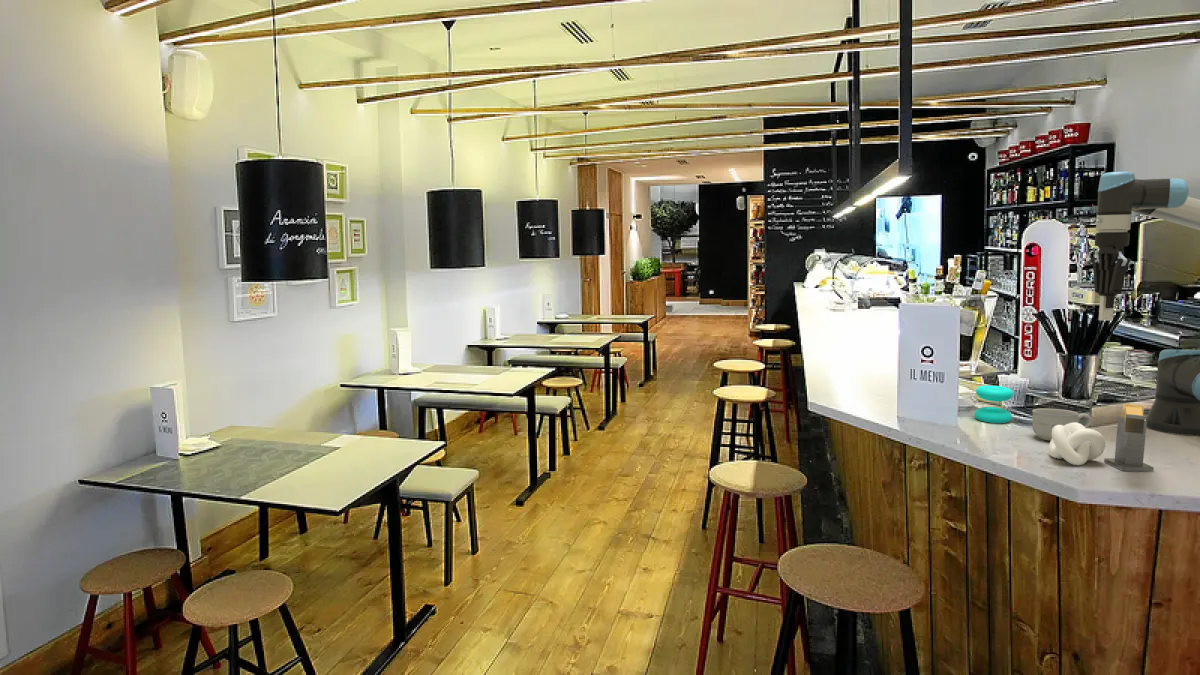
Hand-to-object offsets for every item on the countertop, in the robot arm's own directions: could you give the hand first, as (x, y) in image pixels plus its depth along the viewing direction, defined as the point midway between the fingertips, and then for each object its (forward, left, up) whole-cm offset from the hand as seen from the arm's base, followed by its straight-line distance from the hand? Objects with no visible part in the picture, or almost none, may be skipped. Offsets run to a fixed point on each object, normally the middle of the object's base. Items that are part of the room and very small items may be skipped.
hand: (1105, 320), depth 197 cm
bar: (+12, +33, -21) cm, 41 cm away
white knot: (+19, +23, -33) cm, 44 cm away
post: (+8, +27, -32) cm, 43 cm away
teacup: (+11, +3, -33) cm, 35 cm away
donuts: (+19, -19, -33) cm, 42 cm away
